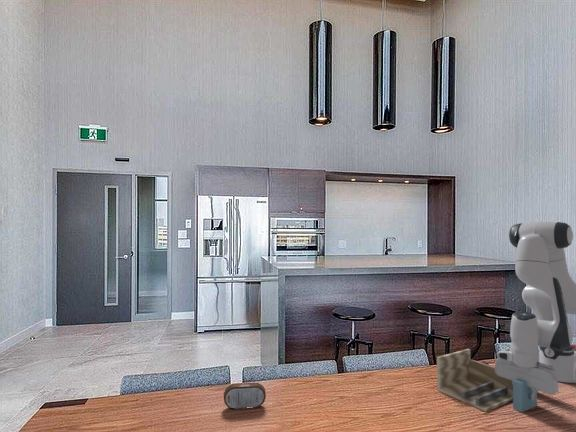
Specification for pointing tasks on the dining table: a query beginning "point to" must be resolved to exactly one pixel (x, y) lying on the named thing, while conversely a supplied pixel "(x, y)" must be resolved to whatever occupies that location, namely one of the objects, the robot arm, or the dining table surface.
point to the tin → (244, 395)
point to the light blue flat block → (522, 396)
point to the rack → (472, 381)
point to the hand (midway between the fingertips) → (525, 396)
